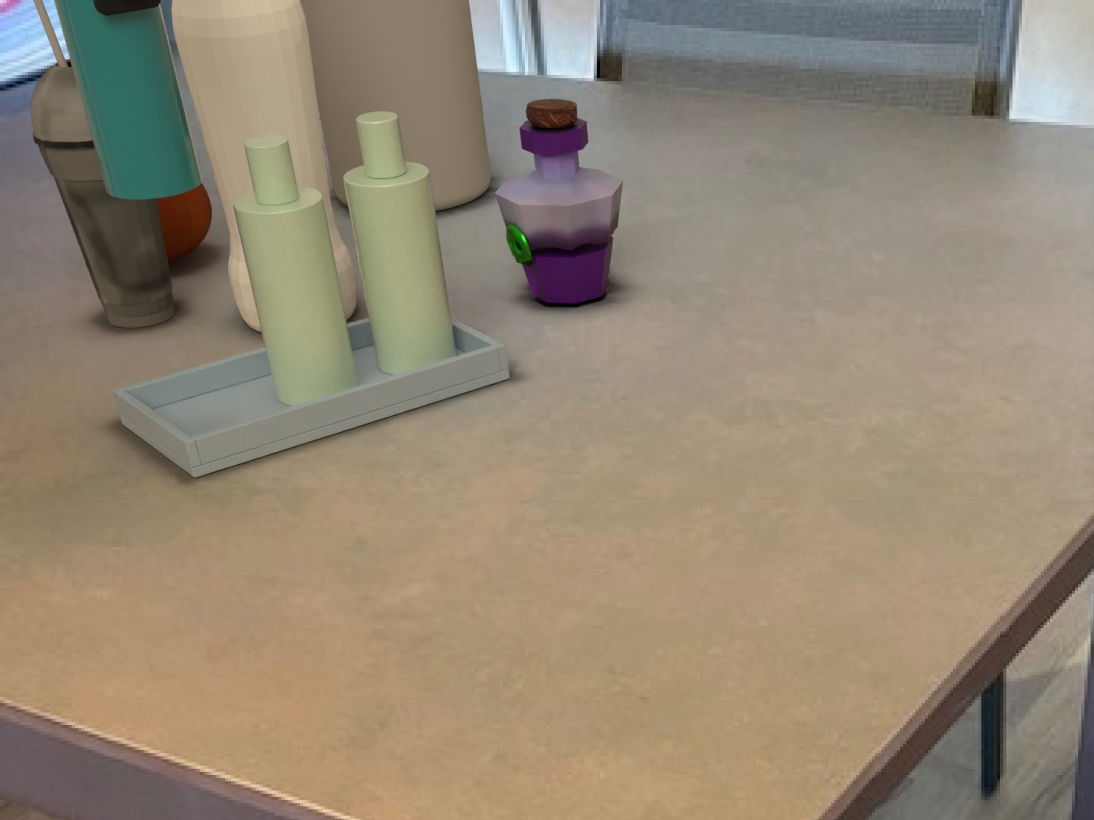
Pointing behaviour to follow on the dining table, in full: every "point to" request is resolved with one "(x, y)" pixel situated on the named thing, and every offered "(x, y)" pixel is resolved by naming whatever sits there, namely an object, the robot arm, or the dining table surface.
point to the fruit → (185, 221)
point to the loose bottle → (131, 100)
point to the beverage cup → (100, 204)
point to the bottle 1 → (255, 109)
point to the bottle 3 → (398, 250)
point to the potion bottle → (560, 210)
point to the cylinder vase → (402, 87)
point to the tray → (270, 426)
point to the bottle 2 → (293, 277)
